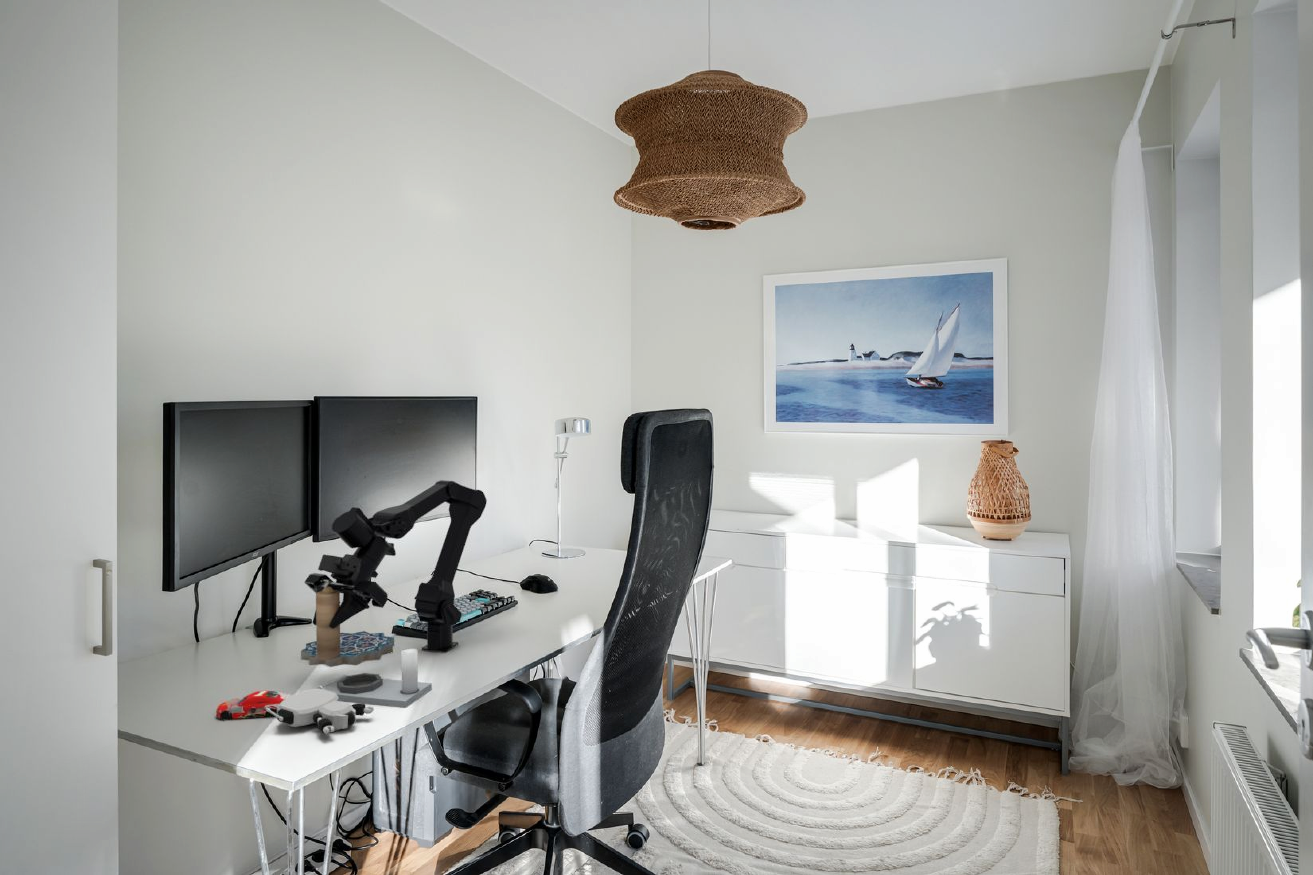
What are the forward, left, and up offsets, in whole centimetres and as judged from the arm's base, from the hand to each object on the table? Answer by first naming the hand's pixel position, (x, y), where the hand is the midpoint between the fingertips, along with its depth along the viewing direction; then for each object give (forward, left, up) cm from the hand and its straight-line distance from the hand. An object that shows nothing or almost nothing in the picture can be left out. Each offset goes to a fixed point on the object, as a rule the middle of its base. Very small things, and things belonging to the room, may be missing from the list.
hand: (322, 625), depth 156 cm
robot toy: (+14, +10, -14) cm, 22 cm away
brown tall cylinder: (-1, 0, -7) cm, 7 cm away
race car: (+12, -5, -14) cm, 19 cm away
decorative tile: (-24, -10, -14) cm, 29 cm away
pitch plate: (-2, +10, -13) cm, 17 cm away
